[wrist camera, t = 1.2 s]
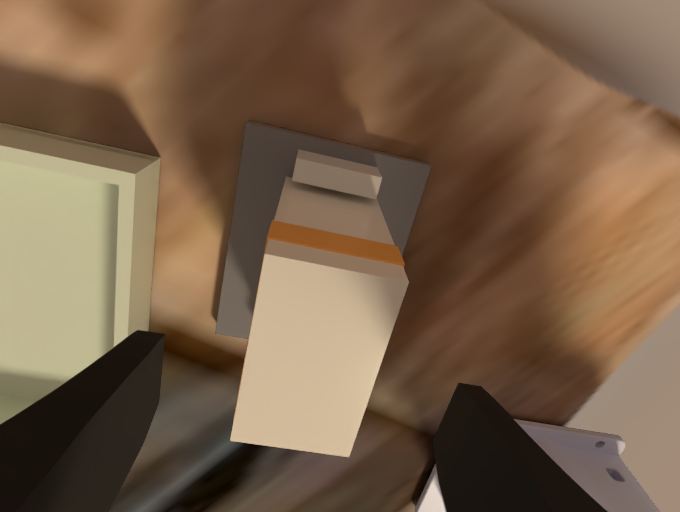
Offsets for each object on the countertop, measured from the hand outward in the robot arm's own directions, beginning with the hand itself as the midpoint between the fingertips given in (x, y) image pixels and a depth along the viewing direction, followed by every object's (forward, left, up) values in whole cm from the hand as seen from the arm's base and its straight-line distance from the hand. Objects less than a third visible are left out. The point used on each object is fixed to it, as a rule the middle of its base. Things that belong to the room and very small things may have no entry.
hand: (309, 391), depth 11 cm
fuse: (0, 0, -8) cm, 8 cm away
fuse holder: (0, 0, -9) cm, 9 cm away
